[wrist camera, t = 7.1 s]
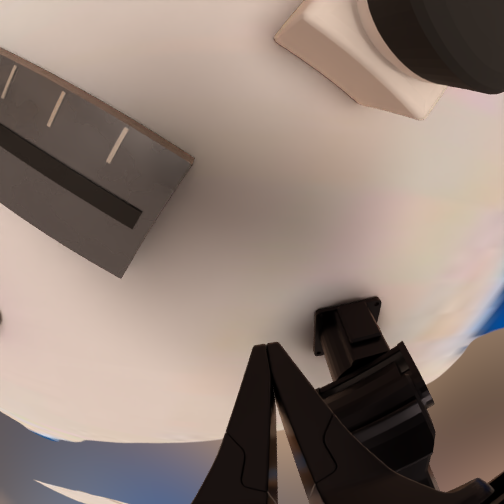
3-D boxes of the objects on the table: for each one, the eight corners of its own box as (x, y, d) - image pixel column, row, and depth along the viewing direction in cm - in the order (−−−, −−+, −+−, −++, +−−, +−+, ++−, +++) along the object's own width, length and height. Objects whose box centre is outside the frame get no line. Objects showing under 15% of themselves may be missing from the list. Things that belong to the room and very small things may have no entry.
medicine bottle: (360, 106, 16) (502, 157, 6) (270, 40, 14) (351, -24, 4) (411, 38, 14) (554, 43, 3) (331, -30, 11) (443, -104, 1)
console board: (194, 158, 18) (191, 165, 16) (126, 266, 21) (120, 280, 20) (-15, 40, 9) (-28, 41, 8) (-48, 149, 13) (-61, 155, 12)
